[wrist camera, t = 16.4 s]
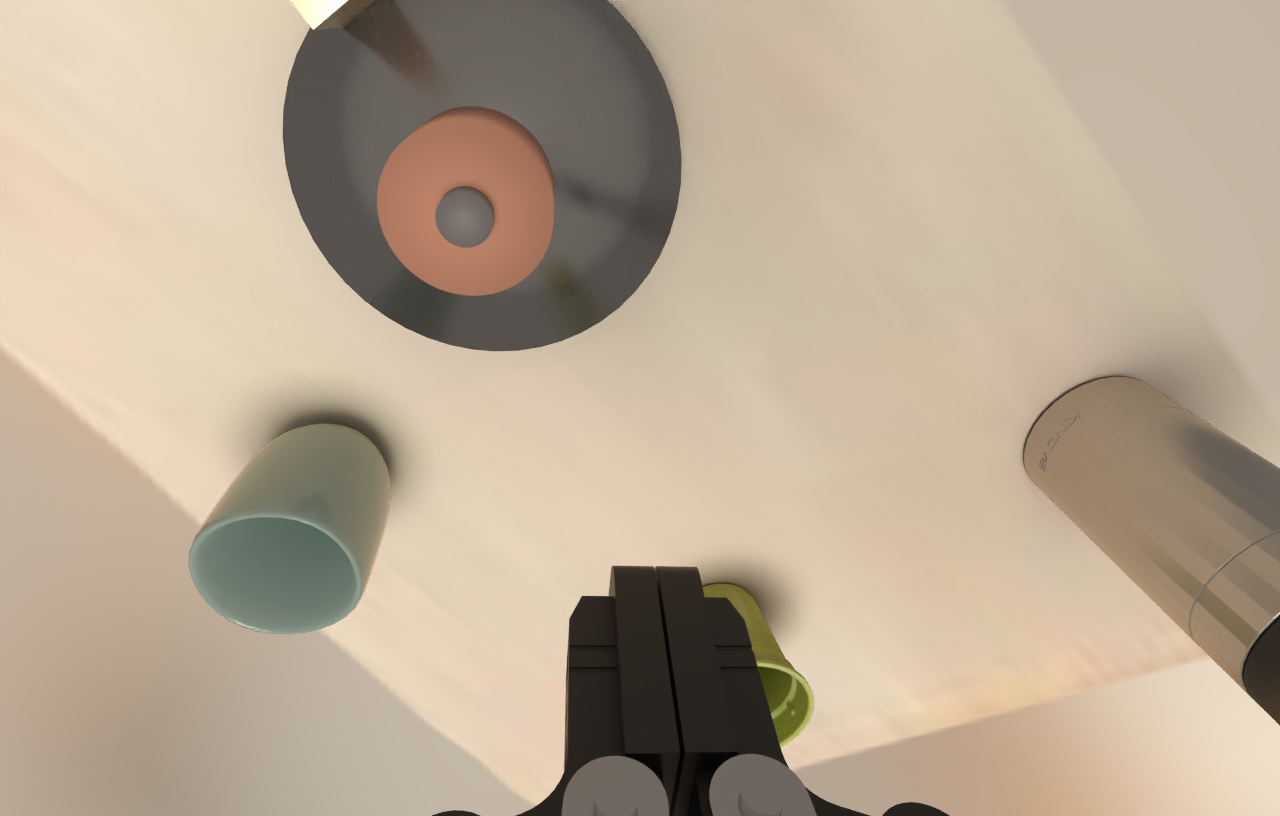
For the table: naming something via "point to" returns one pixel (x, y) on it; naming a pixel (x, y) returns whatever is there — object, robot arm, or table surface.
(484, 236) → the cap
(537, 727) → the table surface
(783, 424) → the table surface
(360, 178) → the platter
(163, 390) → the table surface
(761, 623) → the plant pot
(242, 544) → the cup
